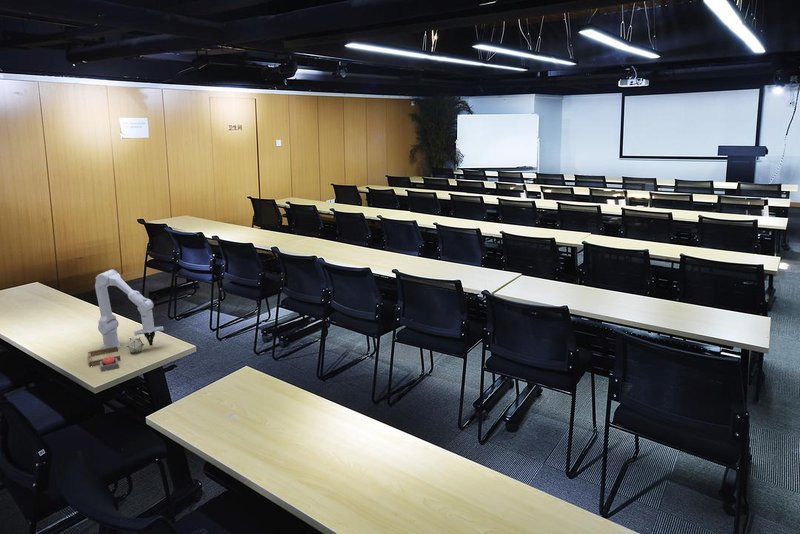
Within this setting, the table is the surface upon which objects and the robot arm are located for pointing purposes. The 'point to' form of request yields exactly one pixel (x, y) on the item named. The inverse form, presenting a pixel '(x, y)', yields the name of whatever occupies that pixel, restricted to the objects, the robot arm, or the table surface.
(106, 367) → the button collar
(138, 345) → the spiky grey ball
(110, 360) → the dome button
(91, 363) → the corral
